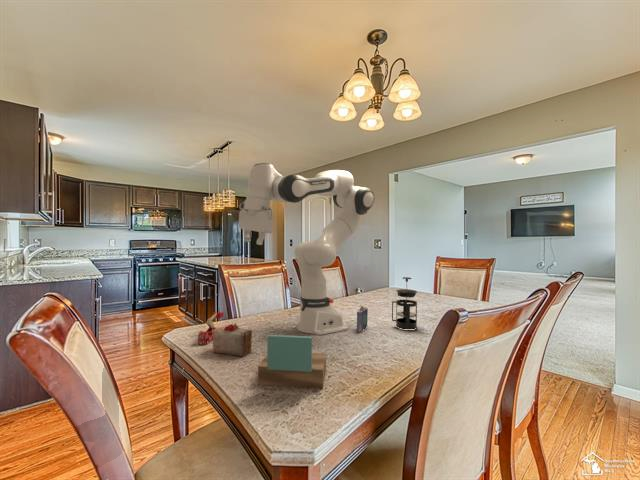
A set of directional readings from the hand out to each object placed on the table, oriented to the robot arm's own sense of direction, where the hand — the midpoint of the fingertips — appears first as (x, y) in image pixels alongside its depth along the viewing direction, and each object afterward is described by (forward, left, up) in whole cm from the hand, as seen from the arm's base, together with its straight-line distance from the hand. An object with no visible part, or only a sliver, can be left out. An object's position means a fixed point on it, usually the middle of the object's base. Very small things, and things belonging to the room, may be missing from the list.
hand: (252, 243), depth 110 cm
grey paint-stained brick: (+7, +4, -39) cm, 40 cm away
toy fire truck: (+14, -12, -39) cm, 43 cm away
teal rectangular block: (-5, +36, -33) cm, 49 cm away
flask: (-49, -4, -39) cm, 62 cm away
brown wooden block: (-8, +29, -38) cm, 49 cm away
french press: (-69, 0, -39) cm, 79 cm away
